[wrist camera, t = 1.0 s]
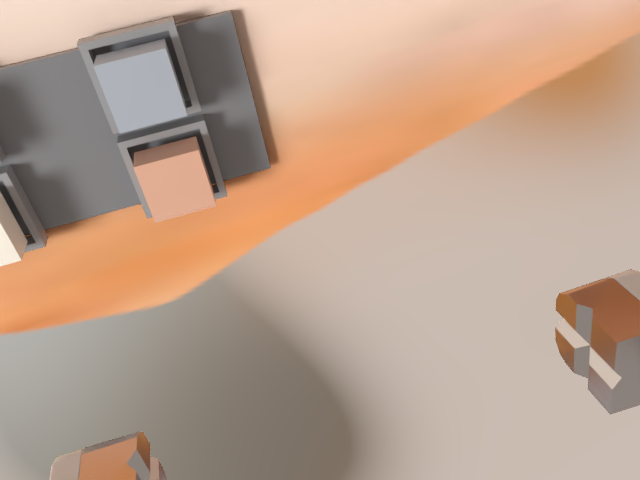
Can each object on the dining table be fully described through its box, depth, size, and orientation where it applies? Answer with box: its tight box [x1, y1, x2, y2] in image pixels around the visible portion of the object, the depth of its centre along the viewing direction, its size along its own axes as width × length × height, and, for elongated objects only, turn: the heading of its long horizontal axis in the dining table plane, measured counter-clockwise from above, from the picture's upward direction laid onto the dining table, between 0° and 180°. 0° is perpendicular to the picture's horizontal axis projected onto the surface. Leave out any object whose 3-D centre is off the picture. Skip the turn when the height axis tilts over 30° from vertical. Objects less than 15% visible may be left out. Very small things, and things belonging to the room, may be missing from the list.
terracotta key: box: [133, 136, 216, 223], centre depth 43 cm, size 4×4×3 cm
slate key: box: [93, 39, 187, 134], centre depth 39 cm, size 4×4×3 cm
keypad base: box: [0, 10, 271, 252], centre depth 43 cm, size 13×28×2 cm, turn 101°
